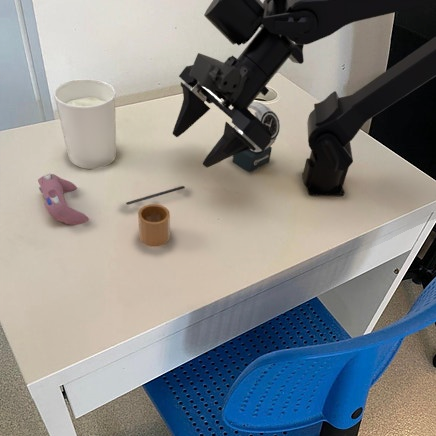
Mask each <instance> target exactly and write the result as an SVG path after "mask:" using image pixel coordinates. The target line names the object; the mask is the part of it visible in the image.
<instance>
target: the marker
mask: <svg viewBox="0 0 436 436" xmlns="http://www.w3.org/2000/svg"><path fill="white" fill-rule="evenodd" d="M185 188H186V186H184V185H181V186H178V187H174V188H171V189H167V190H164V191H161V192H158V193H153V194H150V195H146V196H144V197H140V198H137V199H133V200H130V201H127V202H126V203H125V204H126V205H129V206H130V205H132V204H136V203H139V202H143V201H146V200H149V199H152V198H156V197H159V196H163V195H167V194H169V193H173V192H177V191H180V190H184V189H185Z"/></svg>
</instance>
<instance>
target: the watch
mask: <svg viewBox="0 0 436 436" xmlns="http://www.w3.org/2000/svg"><path fill="white" fill-rule="evenodd" d="M247 109H248V110H249V109H252V110H254V111H255V112H254V116H256V117H257V118H258V119H259V120H260V121H261V122H262V123H263V124H264V125H265V126H266V127H267V128H268V129H269V130H270V131H271V132H272V137H271V142H270V143H269V145H268V146H267V147H266V148H265V149H264V150H263V151H262V150H261V149H260V148H259V147H258V146H257V145H255V146H254V147H255V148H256V150H255V151H253V150H252V149H249V150H247V151H244V152H241V153H238V154H236V155H233V156H232V163H233V164H235V165H236V166H238V167H239V168H241V169H243V170H245V171H246V172H248V173H251V172H254V171H255V170H257V169H259V168H262V167H263V166H265V165H266V164H269V163H270V161H271V155H272V148H273V147H272V146H273V145H274V143H275V142H276V140H277V137H278V136H279V133H280V130H281V129H280V128H281V123H280V119H279V117H278V115H277V114H276V113H275V111H272V110H271V108H270V107H269V106H267V105H265V104H264V103H262V102H259V101H258V102H257V101H255V102H254V101H253V102H252V103H251V104H250V106H249V107H248V108H247Z"/></svg>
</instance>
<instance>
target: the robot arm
mask: <svg viewBox="0 0 436 436" xmlns="http://www.w3.org/2000/svg"><path fill="white" fill-rule="evenodd" d="M433 4H436V0H263V1H261V0H212V1H211V2H210V4H209V6H208V7H207V8H206V10H205V12H204V14H203V16H204V17H205V18H206V20H208V22H209V23H211V24H212V25H213V26H214V27H215V28H216V29H217V30H218V31H219V33H221V35H223V37H225V39H227V41H229V43H230V44H232V45H237V46H239V47H240V46H241V45H245V44H247V43H248V42H249V41H250V40H251V39H252V40H251V41H250V42H249V43H248V44H247V46H246V47H245V48H244V50H243V51H242V52H241V53H240V55H238V57H235V56H234V55H233V54H232V55H231V56H228V58H227V59H226V60H225V61H220V60H219V59H217V58H214V57H212V56H208V55H205V54H203V53H199V52H198V53H197V55H196V56H195V59H194V61H193V64H192V65H187V66H185V67H184V68H183V69H182V71H181V72H180V74H179V75H178V77H179V78H180V79H181V80H182V81H183V82H184V83H183V82H182V81H180V87H181V88H182V96H183V97H182V98H183V99H182V103H181V107H180V110H179V113H178V116H177V120H176V123H175V124H174V127H173V130H172V135H173V136H174V137H175V138H179V137H180V136H181V135H182V134H184V133H185V132H187V131H188V130H189V129H190V128H191V127H192V126H194V124H195V123H196V122H198V120H200V119H201V118H202V117H203V116H205V114H207V113H208V112H209V111H210V110H211V107H210V106H209V105H207V104H214V105H215V106H216V107H217V108H218V109H220V111H221V112H223V113H224V114H225V115H226V116H227V117H229V118H230V119H231V123H232V124H233V125H234V127H233V126H232V125H231V124H230V123H229V122H227V121H225V124H224V129H223V134H222V136H221V137H220V139H219V140H218V141H217V142H216V144H215V145H214V146H213V147H212V148H211V150H210V151H209V153H208V154H207V155H206V157H205V158H204V160H203V161H202V165H203V166H204V167H205V168H210V167H212V166H214V165H216V164H218V163H221V162H223V161H224V160H226V159H229V158H231V157H233V155H236V154H238V153H241V152H244V151H247V150H249V149H252V150H253V151H255V150H256V148H255V147H254V146H255V145H257V146H258V147H259V148H260V149H261V150H262V151H263V150H264V149H265V148H266V147H267V146H268V145H269V143H270V142H271V137H272V132H271V131H270V130H269V129H268V128H267V127H266V126H265V125H264V124H263V123H262V122H261V121H260V120H259V119H258V118H257V117H256V116H255V114H253V113H252V112H251V110H250V109H249V108H248V107H249V106H250V104H251V103H254V101H255V100H256V98H257V97H258V96H259V95H260V94H261V95H262V96H264V97H265V96H266V95H267V94H268V93H269V91H270V89H269V88H267V85H268V84H269V82H270V81H271V80H272V79H273V77H274V76H275V75H276V74H277V72H278V71H279V70H280V69H281V68H282V66H283V65H284V64H285V63H286V61H287V60H288V59H289V60H290V61H291V62H292V63H296V64H300V65H302V64H304V61H305V59H304V53H303V52H304V45H306V46H307V45H310V44H312V43H315V42H317V41H320V40H322V39H325V38H327V37H330V36H331V35H333V34H334V33H336V32H338V31H339V30H340V29H342V28H343V27H345V26H347V25H350V24H353V23H356V22H361V21H364V20H368V19H374V18H377V17H382V16H386V15H390V14H394V13H399V12H402V11H407V10H411V9H416V8H420V7H425V6H429V5H433ZM255 34H256V35H255ZM435 77H436V36H434V37H433V38H431V39H430V40H428V41H427V42H425V43H424V44H423V45H421V46H420V47H418V48H417V49H416V50H414V51H413V52H411V53H409V54H408V55H407V56H406V57H404V58H402V60H400V61H399V62H397V63H396V64H394V65H393V66H391V67H390V68H388V69H387V70H385V71H384V72H383V73H381V74H380V75H378V76H377V77H375V78H374V79H372V80H371V81H370V82H367V84H366V85H364V86H363V87H361V88H360V89H358V90H357V91H356V92H354V93H352V94H350V95H345V96H342V97H339V95H338V93H337V91H335V90H334V91H333V92H331V93H330V94H329V95H327V97H326V98H324V99H322V101H320V102H317V103H313V108H314V109H313V110H312V111H311V112H310V113H309V114H308V118H307V123H306V124H307V143H308V147H309V149H310V150H311V151H310V154H309V157H307V158H306V159H305V162H304V163H305V164H304V168H303V172H302V173H301V179H302V183H303V185H304V186H305V189H306V191H307V193H308V195H309V196H315V197H316V196H317V197H322V196H324V197H326V196H327V197H343V196H345V193H346V191H345V190H344V187H343V186H344V185H345V181H346V178H347V174H348V172H349V168H350V166H351V165H352V164H353V163H354V157H353V152H352V146H351V141H353V139H354V138H355V137H356V136H357V134H358V133H359V132H360V130H361V129H362V128H363V127H364V125H365V124H366V123H367V122H368V121H369V120H371V119H372V118H374V117H375V116H378V114H380V113H381V112H383V111H384V110H386V109H387V108H390V106H392V105H395V103H397V102H398V101H400V100H402V99H403V98H405V97H407V96H408V95H409V94H410V93H412V92H414V91H415V90H417V89H418V88H420V87H421V86H424V84H426V83H428V82H429V81H430V80H433V78H435ZM205 102H206V103H207V104H206V103H205ZM230 107H232V108H230ZM247 108H248V109H247Z"/></svg>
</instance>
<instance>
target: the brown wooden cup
mask: <svg viewBox="0 0 436 436" xmlns="http://www.w3.org/2000/svg"><path fill="white" fill-rule="evenodd" d="M137 219H138V237H139V240H140V242H141V243H142V244H143V245H145V246H148V247H153V248H154V247H161V246H164V245H166V244H167V243H168V242H169V240H170V237H171V220H170V219H171V213H170V210H169V209H168V208H167V207H166V206H164V205H162V204H158V203H151V204H147V205H143V206H142V207H141V208H140V209H139V210H138V212H137Z"/></svg>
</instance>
